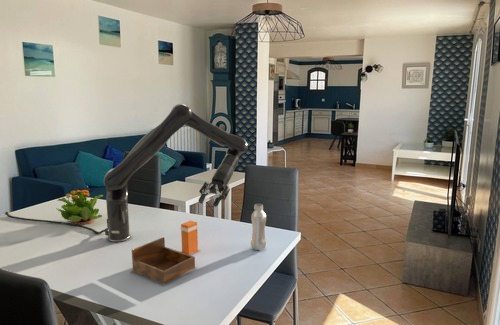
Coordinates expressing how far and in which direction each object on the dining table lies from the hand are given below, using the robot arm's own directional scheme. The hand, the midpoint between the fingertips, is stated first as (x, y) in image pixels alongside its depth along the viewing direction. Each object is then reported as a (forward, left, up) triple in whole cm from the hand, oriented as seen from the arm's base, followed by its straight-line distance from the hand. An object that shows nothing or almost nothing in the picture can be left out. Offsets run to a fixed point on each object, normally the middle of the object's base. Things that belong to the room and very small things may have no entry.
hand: (207, 204), depth 167 cm
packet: (0, -12, -19) cm, 22 cm away
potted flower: (-73, -17, -19) cm, 77 cm away
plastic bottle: (+22, +8, -19) cm, 30 cm away
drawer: (+4, -30, -19) cm, 35 cm away
